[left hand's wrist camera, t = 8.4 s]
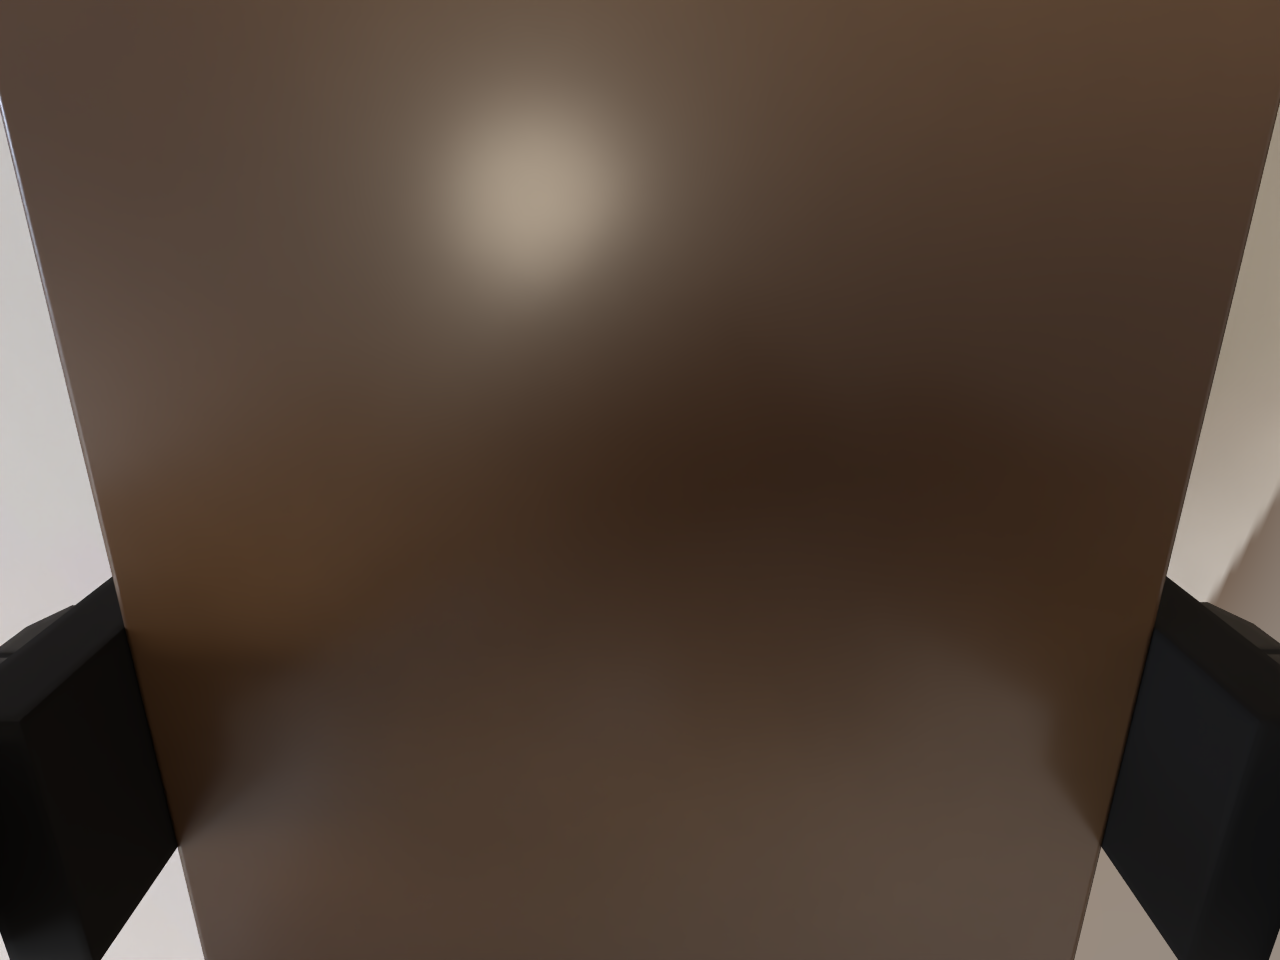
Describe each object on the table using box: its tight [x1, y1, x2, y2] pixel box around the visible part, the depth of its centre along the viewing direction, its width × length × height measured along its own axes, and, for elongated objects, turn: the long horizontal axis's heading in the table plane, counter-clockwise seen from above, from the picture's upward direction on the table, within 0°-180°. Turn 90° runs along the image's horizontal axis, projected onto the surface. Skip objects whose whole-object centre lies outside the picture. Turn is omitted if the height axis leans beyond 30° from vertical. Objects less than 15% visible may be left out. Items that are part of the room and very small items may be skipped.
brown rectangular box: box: [0, 0, 1280, 960], centre depth 11 cm, size 19×10×10 cm, turn 0°
